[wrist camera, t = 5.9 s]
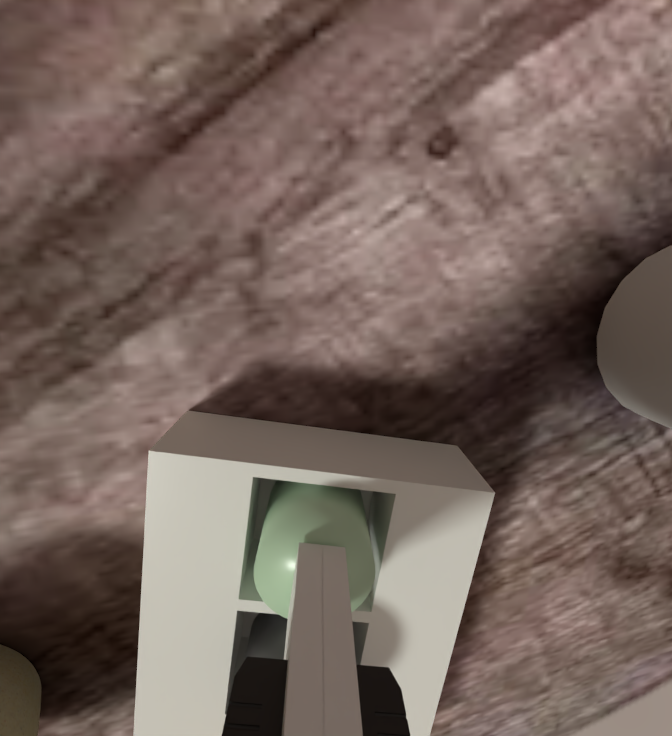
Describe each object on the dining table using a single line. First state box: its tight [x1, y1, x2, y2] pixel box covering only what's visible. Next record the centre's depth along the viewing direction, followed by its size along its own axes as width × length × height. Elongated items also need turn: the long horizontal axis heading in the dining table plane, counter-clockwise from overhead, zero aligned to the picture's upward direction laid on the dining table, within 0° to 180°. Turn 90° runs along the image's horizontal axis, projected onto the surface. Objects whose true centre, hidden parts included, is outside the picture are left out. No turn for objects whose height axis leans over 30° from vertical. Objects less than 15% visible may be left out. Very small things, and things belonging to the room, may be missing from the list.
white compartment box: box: [133, 411, 495, 736], centre depth 17 cm, size 17×12×4 cm
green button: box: [254, 480, 375, 619], centre depth 15 cm, size 4×4×4 cm
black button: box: [245, 613, 288, 660], centre depth 15 cm, size 4×4×4 cm
